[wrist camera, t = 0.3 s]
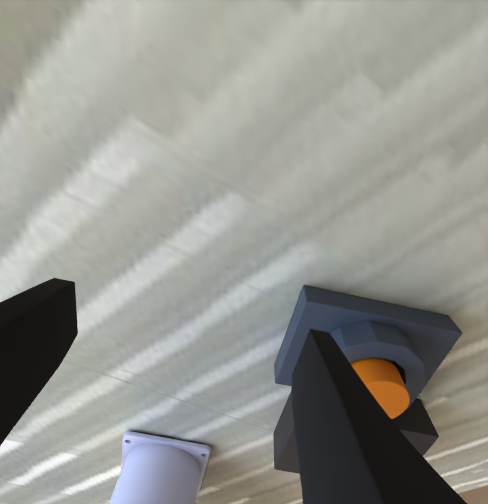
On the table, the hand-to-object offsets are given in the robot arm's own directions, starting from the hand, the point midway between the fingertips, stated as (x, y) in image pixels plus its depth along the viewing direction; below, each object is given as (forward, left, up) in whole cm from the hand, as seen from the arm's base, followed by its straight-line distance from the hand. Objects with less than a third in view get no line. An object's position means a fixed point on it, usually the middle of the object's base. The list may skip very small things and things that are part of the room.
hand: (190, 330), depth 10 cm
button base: (-7, -11, -10) cm, 17 cm away
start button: (-7, -11, -7) cm, 15 cm away
